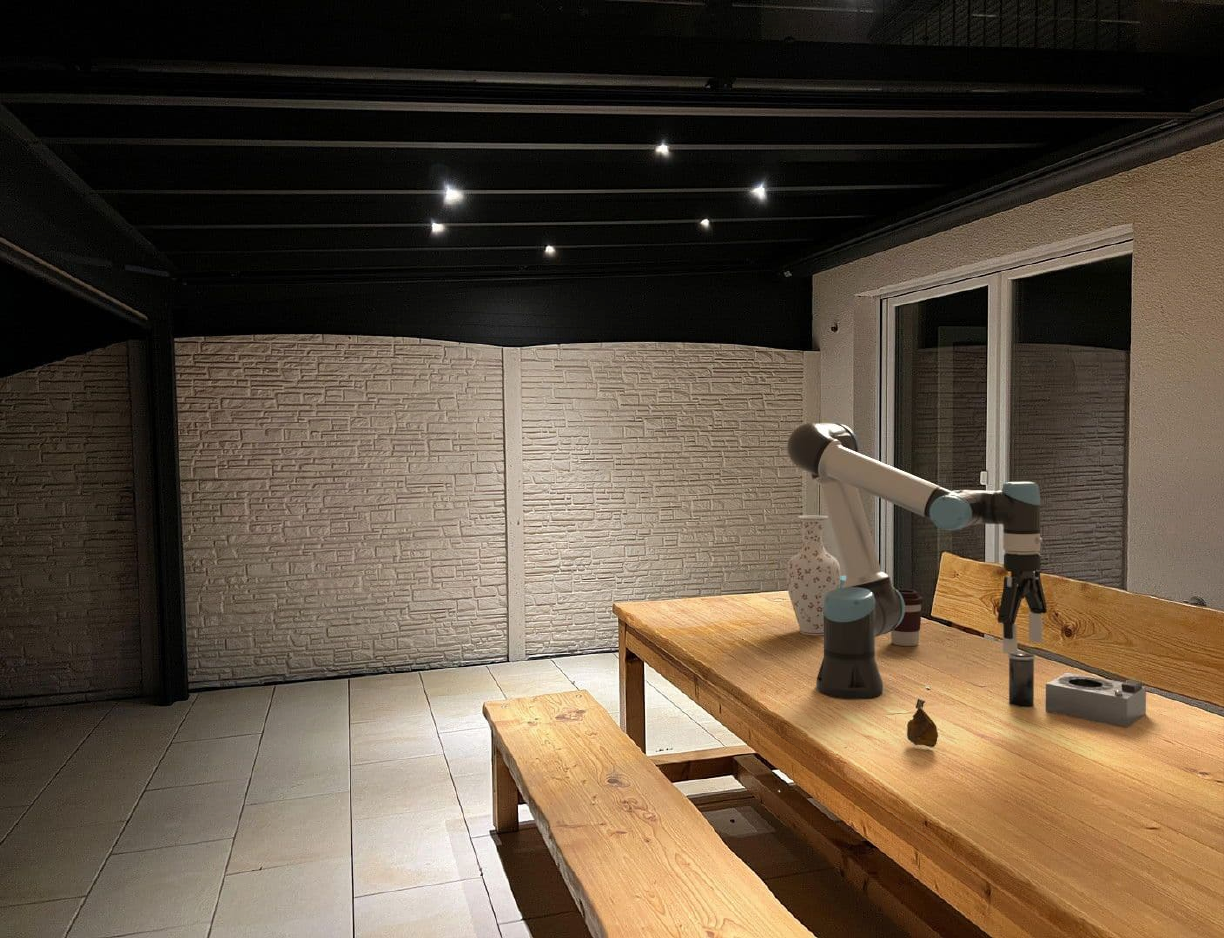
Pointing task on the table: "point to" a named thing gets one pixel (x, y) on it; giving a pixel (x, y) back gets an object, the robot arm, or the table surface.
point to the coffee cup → (908, 620)
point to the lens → (1021, 679)
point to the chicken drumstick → (922, 728)
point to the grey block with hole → (1097, 699)
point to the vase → (812, 577)
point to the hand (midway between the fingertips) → (1023, 647)
